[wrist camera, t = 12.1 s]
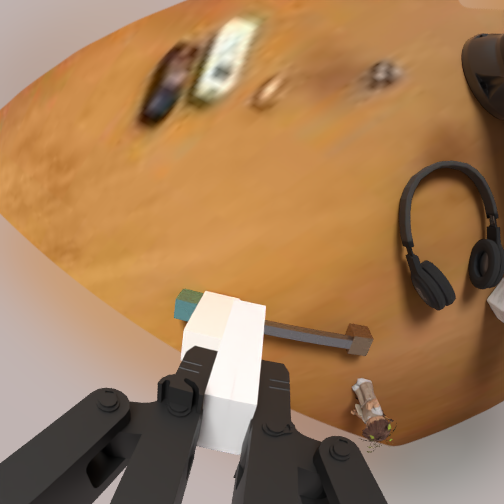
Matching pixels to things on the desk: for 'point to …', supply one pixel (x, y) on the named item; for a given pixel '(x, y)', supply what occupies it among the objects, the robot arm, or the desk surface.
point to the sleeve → (207, 322)
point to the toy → (371, 412)
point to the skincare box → (498, 300)
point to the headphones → (483, 253)
